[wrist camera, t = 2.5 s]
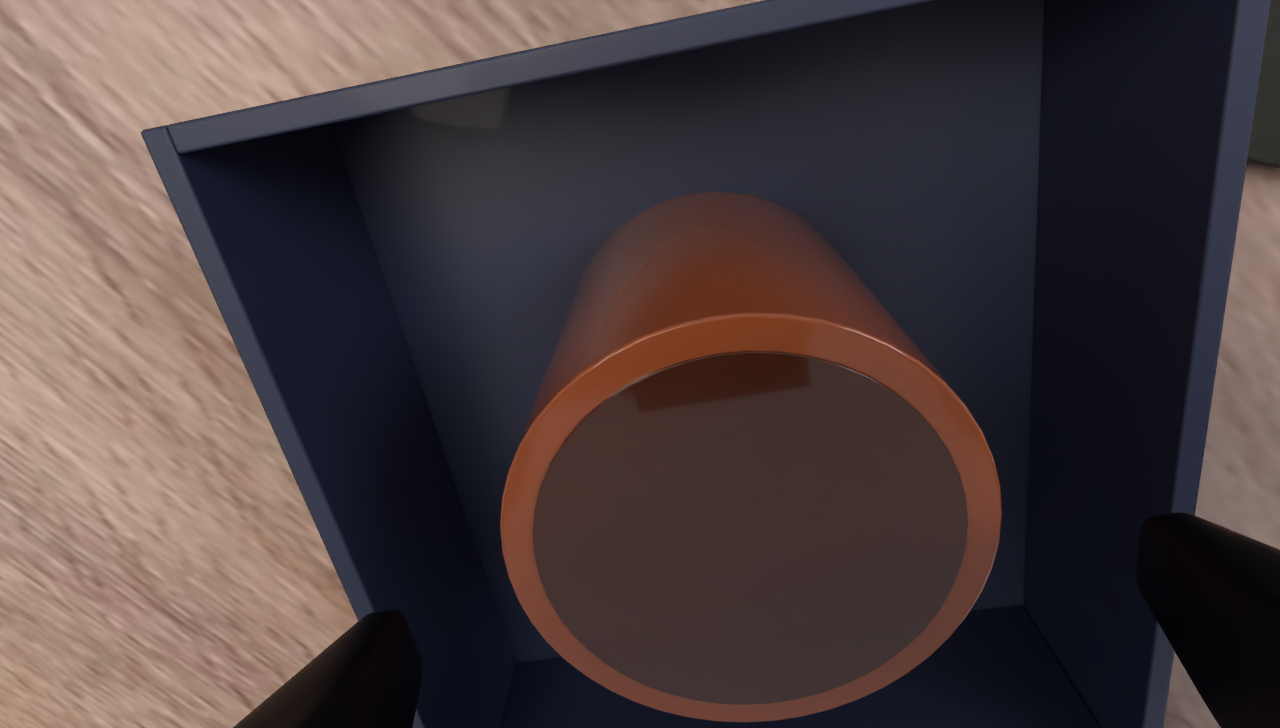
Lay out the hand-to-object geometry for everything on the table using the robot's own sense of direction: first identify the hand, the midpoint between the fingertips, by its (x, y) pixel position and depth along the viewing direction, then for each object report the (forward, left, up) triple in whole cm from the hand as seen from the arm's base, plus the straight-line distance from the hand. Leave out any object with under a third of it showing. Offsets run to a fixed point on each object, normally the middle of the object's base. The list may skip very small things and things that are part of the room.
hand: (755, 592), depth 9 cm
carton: (0, +1, -9) cm, 9 cm away
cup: (0, 0, -8) cm, 8 cm away
